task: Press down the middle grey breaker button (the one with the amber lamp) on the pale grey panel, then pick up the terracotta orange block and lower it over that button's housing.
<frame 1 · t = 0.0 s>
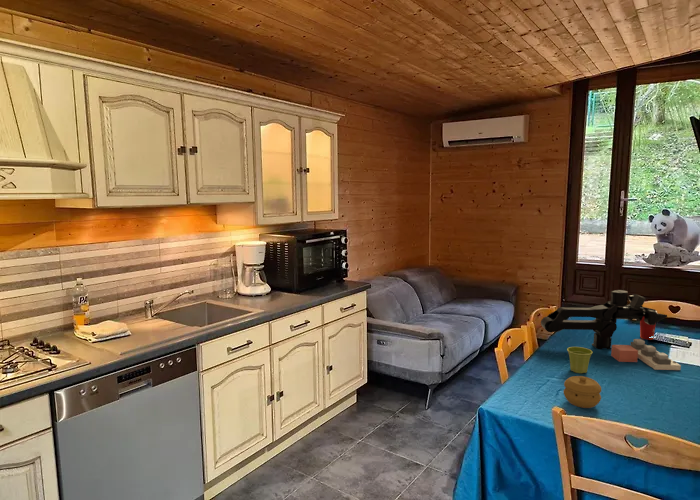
hand: (661, 313, 220), 17 cm above the table, tool horizontal, fingers open, 9 cm apart
plant pot: (578, 371, 196), on the table
breaker middle: (649, 349, 208), point 5 cm above the table, slide at 0.0 cm
breaker left: (639, 342, 217), point 5 cm above the table, slide at 0.0 cm
paper cup: (646, 338, 237), on the table
pot: (581, 405, 166), on the table
breaker panel: (651, 359, 208), on the table
terracotta orange block: (623, 358, 209), on the table
breaker right: (661, 356, 199), point 5 cm above the table, slide at 0.0 cm
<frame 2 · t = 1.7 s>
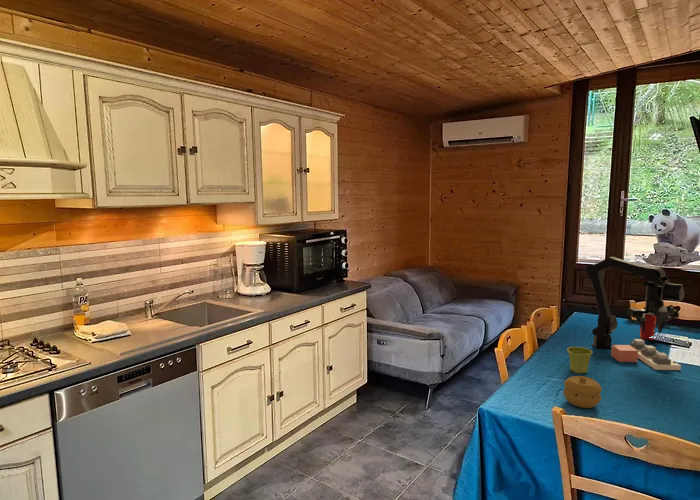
hand: (651, 332, 207), 12 cm above the table, tool pointing down, fingers open, 6 cm apart
nothing on the table moved.
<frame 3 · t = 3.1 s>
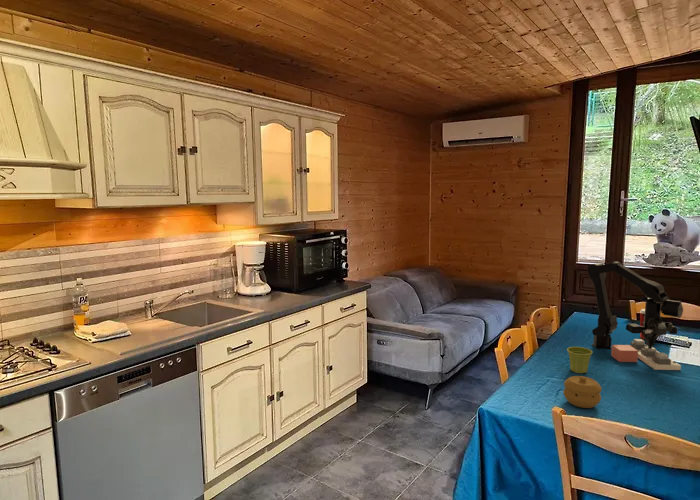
hand: (649, 347, 208), 5 cm above the table, tool pointing down, fingers closed, pressing on breaker middle
breaker middle: (649, 350, 208), point 4 cm above the table, slide at 0.5 cm, touching gripper
everything else where it was.
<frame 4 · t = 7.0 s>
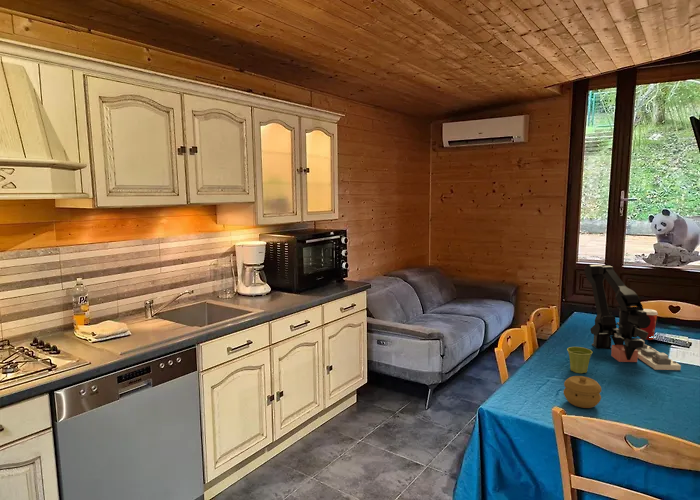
hand: (624, 356, 209), 1 cm above the table, tool pointing down, fingers closed on terracotta orange block, 7 cm apart
breaker middle: (649, 352, 208), point 3 cm above the table, slide at 1.6 cm
terracotta orange block: (623, 358, 209), on the table, touching gripper
everything else where it was.
when the fingers open (4 cm above the table, at t = 11.3 s): terracotta orange block stays where it is, resting on breaker panel.
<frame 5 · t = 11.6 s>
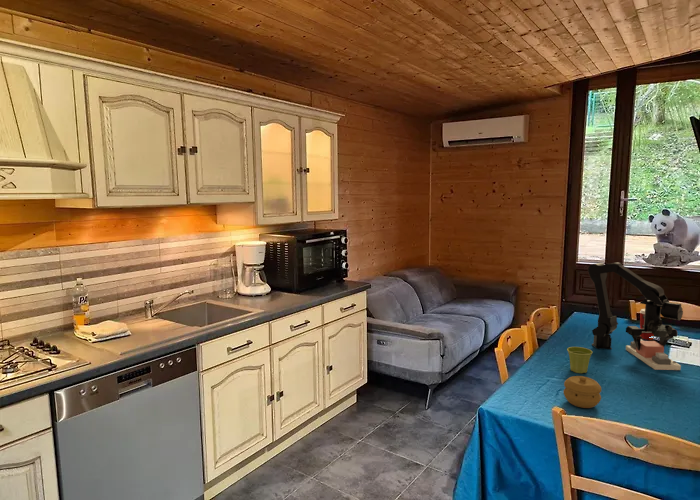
hand: (649, 350, 208), 4 cm above the table, tool pointing down, fingers open, 9 cm apart
terracotta orange block: (649, 354, 208), point 2 cm above the table, touching breaker panel
everything else where it was.
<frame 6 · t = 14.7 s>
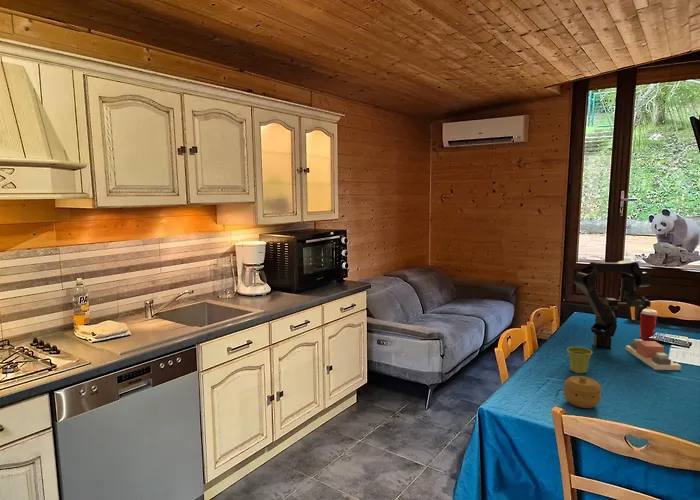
hand: (625, 320, 226), 12 cm above the table, tool pointing down, fingers open, 9 cm apart
nothing on the table moved.
at the end: breaker middle slide at 1.6 cm; terracotta orange block 0.0 cm from the breaker middle (horizontally); terracotta orange block point 2.0 cm above the table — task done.
